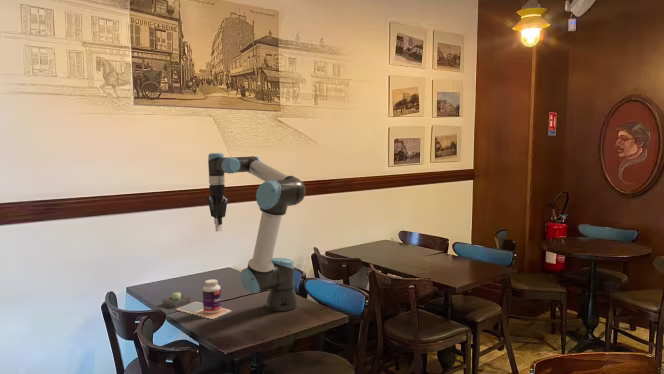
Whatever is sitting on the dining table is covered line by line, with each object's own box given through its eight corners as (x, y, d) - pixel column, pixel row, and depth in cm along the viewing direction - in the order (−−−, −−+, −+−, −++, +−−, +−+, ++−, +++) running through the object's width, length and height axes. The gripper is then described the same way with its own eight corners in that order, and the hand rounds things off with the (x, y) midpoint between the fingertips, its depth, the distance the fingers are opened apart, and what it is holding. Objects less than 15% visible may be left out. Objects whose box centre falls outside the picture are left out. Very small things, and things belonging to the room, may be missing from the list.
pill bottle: (216, 315, 215) (215, 284, 214) (200, 313, 217) (199, 283, 215) (224, 309, 223) (223, 278, 222) (208, 307, 225) (207, 278, 223)
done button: (183, 300, 234) (182, 293, 233) (175, 303, 230) (175, 295, 230) (177, 299, 236) (176, 291, 236) (169, 302, 233) (169, 294, 232)
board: (231, 311, 222) (231, 309, 222) (212, 319, 212) (212, 318, 212) (195, 302, 235) (195, 301, 235) (176, 310, 225) (176, 308, 224)
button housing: (190, 302, 235) (189, 296, 234) (175, 308, 227) (174, 302, 227) (177, 299, 240) (177, 293, 239) (162, 305, 232) (162, 299, 232)
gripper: (231, 184, 236) (233, 230, 238) (213, 183, 243) (214, 228, 245) (220, 185, 230) (222, 233, 232) (202, 184, 237) (203, 231, 239)
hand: (218, 230), depth 239 cm, fingers closed
